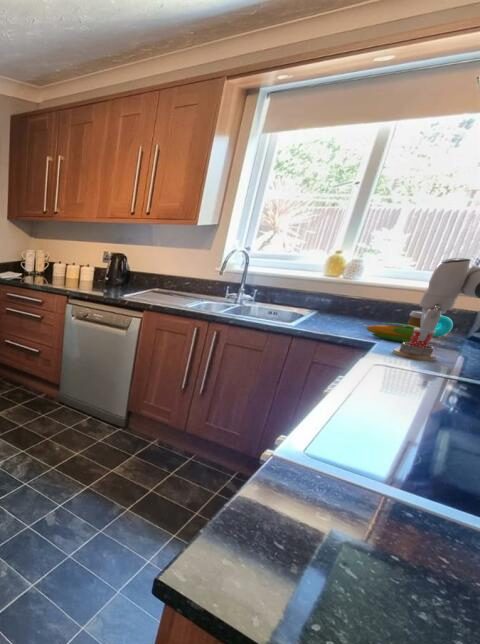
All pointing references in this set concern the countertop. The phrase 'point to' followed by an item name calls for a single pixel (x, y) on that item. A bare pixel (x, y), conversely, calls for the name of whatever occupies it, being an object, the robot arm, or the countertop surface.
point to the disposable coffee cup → (415, 318)
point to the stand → (415, 352)
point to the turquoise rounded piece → (443, 326)
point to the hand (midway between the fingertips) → (421, 338)
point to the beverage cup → (420, 343)
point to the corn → (392, 332)
